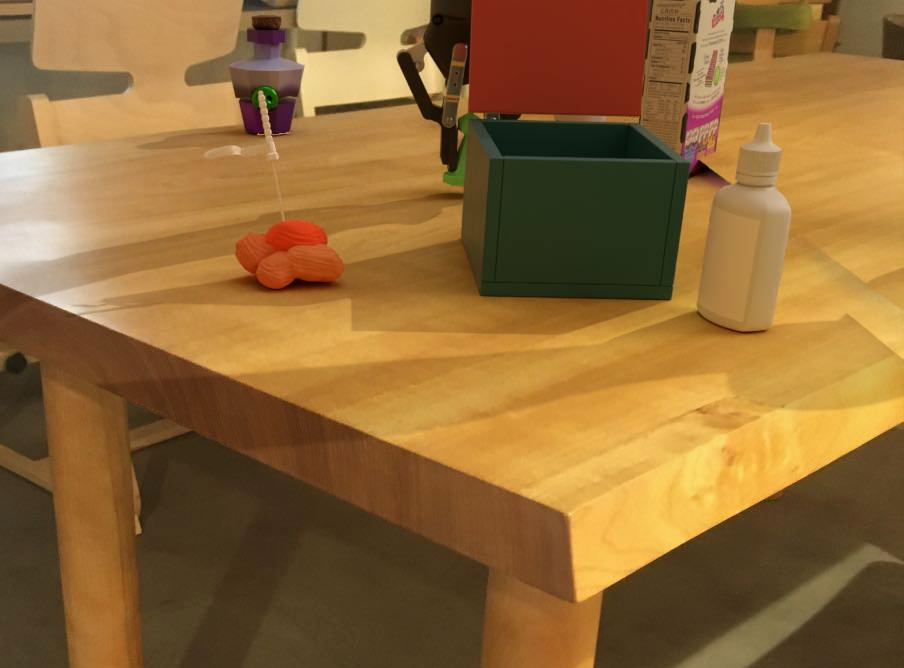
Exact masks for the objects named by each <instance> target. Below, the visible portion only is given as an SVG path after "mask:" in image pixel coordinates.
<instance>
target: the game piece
mask: <svg viewBox="0 0 904 668" xmlns="http://www.w3.org/2000/svg"><path fill="white" fill-rule="evenodd" d="M468 119H481V117H479V116H478V115H477V114H476V113H468V112H467V113H465V114H463V115H461V116H459V117H457V127H458V132H460V133H462V134H463V136H462V139H461V141H460V144H459V146H458V147H457V168H456V171H454V172H448V170H447V169H446V171H444V172H443V173H442V183H444V184H447V185H450V186H454V187H464V178H465V161H466V144H467V128H468Z"/></svg>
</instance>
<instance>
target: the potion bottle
mask: <svg viewBox="0 0 904 668" xmlns="http://www.w3.org/2000/svg"><path fill="white" fill-rule="evenodd" d="M246 42H247V43H252V44H253V56H251V57H248V58H244V59H242V60H238V61H235V62H232V63H231V64H229V66H228V70H229V75H230V80H231V83H232V88H233V89H232V90H233V93H234V97H235V99H238V104H239V109H240V113H241V118H242V122H243V128H244V131H243V134H246V135H250V136H251V135H252V136H255V135H257V134H258V133H259V134H264V128H263V121H262V115H261V112H260V110H261V108H260V106H259V101H258V97H259V94H258V92H259V91H263V95H264V96H265V102H266V105H267V106H266V109H267V110H268V113H267V115H268V116H269V123H270V130H271V132H272V134H279V133H286V132H289V131H291V128H292V123H293V118H294V113H295V108H296V104H297V98H298V97H299V95H300V91H301V88H302V87H301V86H302V82H303V78H304V77H303V75H304V71H305V64H302V63H299V62H297V61H294V60H291V59H288V58H284V57H282V56H281V44H285V43H286V42H287V28H284V27H282V16H280V15H276V14H275V15H274V14H257V15H253V16H251V26H249V27H247V28H246Z"/></svg>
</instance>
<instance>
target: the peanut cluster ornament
mask: <svg viewBox="0 0 904 668" xmlns="http://www.w3.org/2000/svg"><path fill="white" fill-rule="evenodd" d="M258 94H259V97H258V101H259V106H260V108H261V110H260V112H261V115H262V121H263V128H264V134H265V136H264V137H265V143H263V144H258V145H254V146H248V147H240V146H238V145H236V144H235V145H234V144H231V145H230V144H229V145H225V146H220V147H218V148H214V149H210V150H207V151H206V152H204V153H203V155H202V156H203V159H204V160H207V161H210V160H214V159H220V158H224V157H230V156H234V155H237V156H240V157H242V158H250V157H255V156H261V155H265V154H266V155H265V160H266V162H268V163H271V165H272V166H271V167H272V171H273V176H274V182H275V189H276V192H277V197H278V204H279V207H280V209H279V210H280V214H281V219H282V221H279V222H276V223H275V224H273V225H272V226H271V227H269V228H268V230H267V231H266V232H265V234H264V233H251V232H250V233H248V234H245V236H243V237H241V238H240V239H239V240H238V241H236V242H235V247H234V248H235V250H234V255H235V257H236V260H237V261H238V263H239V265H240V266H241V267H242V268H243V269H244V270H245V271H246V272H248V273H250V274H252V275H255V276H256V278H257V280H258V283H260V284H261V285H262V286H264V287H267V288H269V289H273V290H280V289H284V288H285V287H286V286H289V285H290V284H292V283H293V281H295V280H296V279H300V280H301V281H305V282H316V283H317V282H320V283H330V282H334V281H336V280H339V279H340V278H341V277H342V273H343V272H344V271H345V267H346V266H345V263H344V260H343V258H342V257H340V254H339V253H338V252H337V251H336V250H335V249H334V248H333V247H332V246H329V245H327V244H328V241H329V237H328V236H327V234H326V231H325V230H324V229H323V228H322V227H321V226H320V225H318V224H315V223H314V222H309V221H306V220H297V219H295V220H294V219H291V220H286V217H285V211H284V206H283V200H282V195H281V189H280V184H279V180H278V173H277V167H276V162H277V161H278V160H279V159H280V156H279V152H277V149H276V145H275V141H274V139H273V136H271V134H272V132H271V130H270V123H269V116H268V115H267V113H268V110H267V109H266V106H267V105H266V102H265V96H264V95H263V91H259V92H258Z"/></svg>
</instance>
